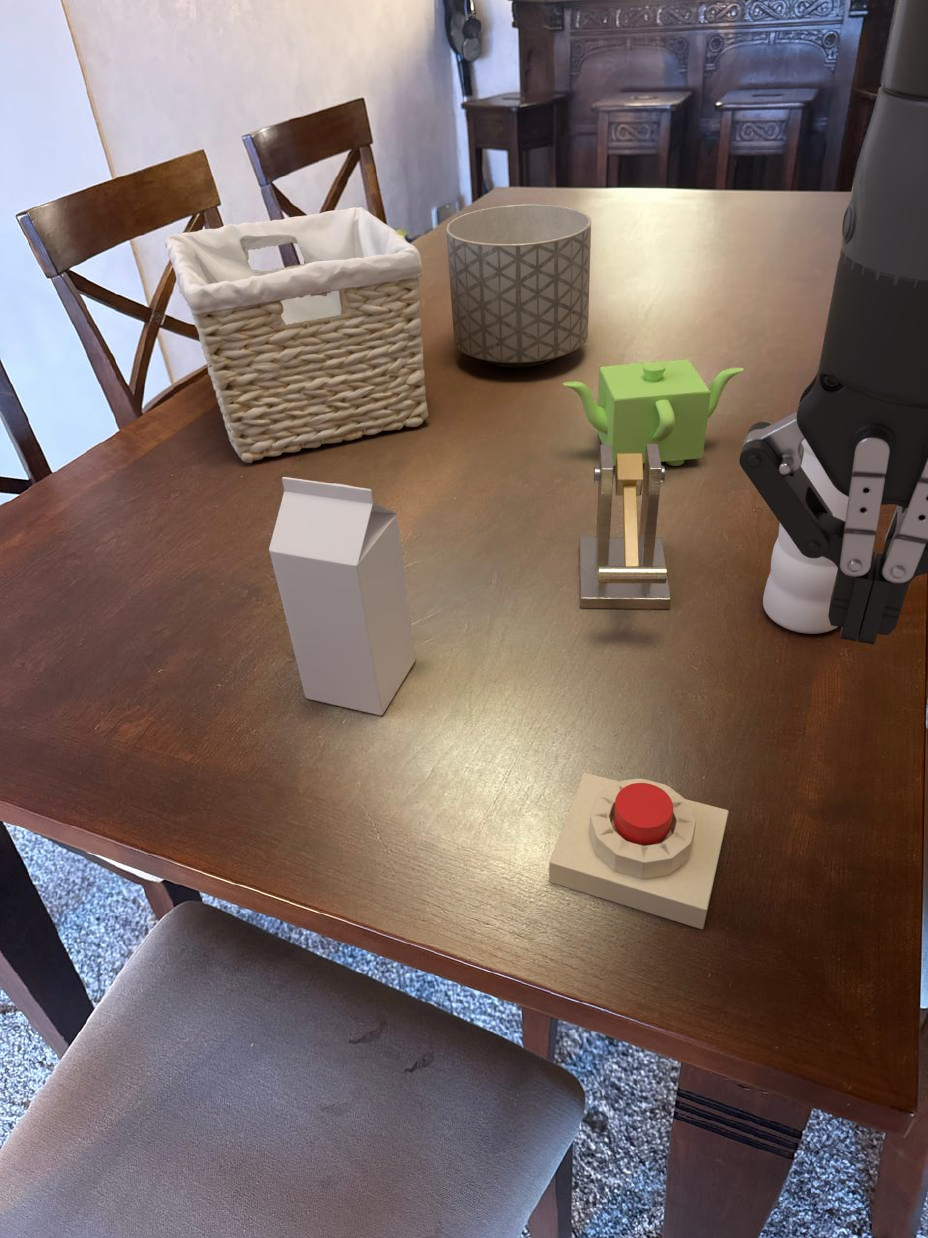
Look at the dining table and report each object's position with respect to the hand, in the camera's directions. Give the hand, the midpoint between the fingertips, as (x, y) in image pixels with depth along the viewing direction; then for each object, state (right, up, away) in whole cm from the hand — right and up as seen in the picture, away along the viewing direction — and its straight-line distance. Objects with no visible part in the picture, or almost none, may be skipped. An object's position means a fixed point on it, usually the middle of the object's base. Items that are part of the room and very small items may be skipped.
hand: (856, 630), depth 40 cm
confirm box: (-7, -15, +18) cm, 24 cm away
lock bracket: (-3, +5, +42) cm, 42 cm away
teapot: (+3, +20, +61) cm, 64 cm away
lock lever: (-4, +8, +34) cm, 35 cm away
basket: (-38, +29, +76) cm, 89 cm away
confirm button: (-7, -13, +15) cm, 21 cm away
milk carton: (-27, -5, +33) cm, 43 cm away
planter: (-10, +38, +85) cm, 94 cm away
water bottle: (+12, +1, +36) cm, 38 cm away
